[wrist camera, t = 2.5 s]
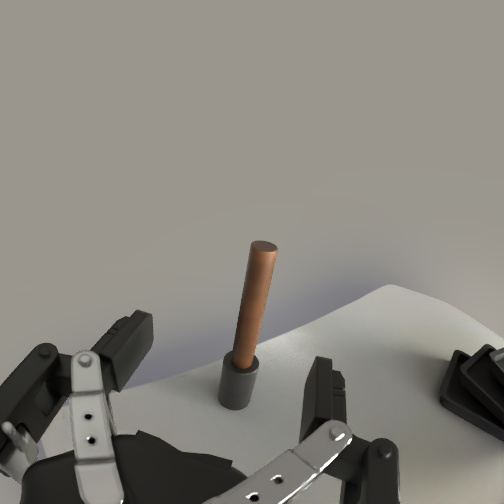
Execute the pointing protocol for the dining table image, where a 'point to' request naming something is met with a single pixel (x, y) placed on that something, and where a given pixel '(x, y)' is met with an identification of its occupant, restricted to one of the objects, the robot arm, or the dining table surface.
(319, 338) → the dining table surface
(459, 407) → the tray
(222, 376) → the brush
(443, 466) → the dining table surface
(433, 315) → the dining table surface
